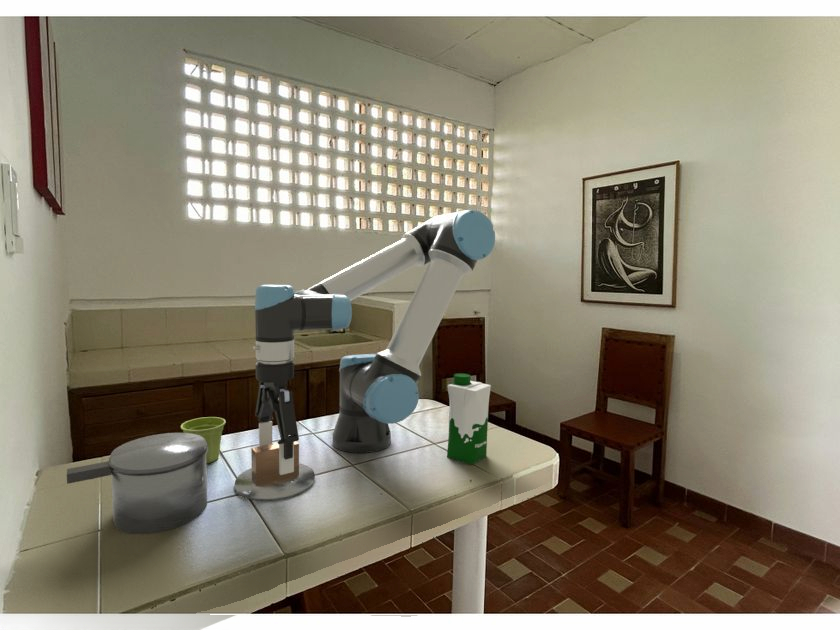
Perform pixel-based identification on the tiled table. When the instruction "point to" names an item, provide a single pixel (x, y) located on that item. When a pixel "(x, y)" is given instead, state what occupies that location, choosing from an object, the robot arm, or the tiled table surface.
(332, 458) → the tiled table surface
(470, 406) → the milk carton
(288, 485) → the lid
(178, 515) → the grey saucepan
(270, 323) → the robot arm
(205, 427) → the plant pot
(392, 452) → the tiled table surface
